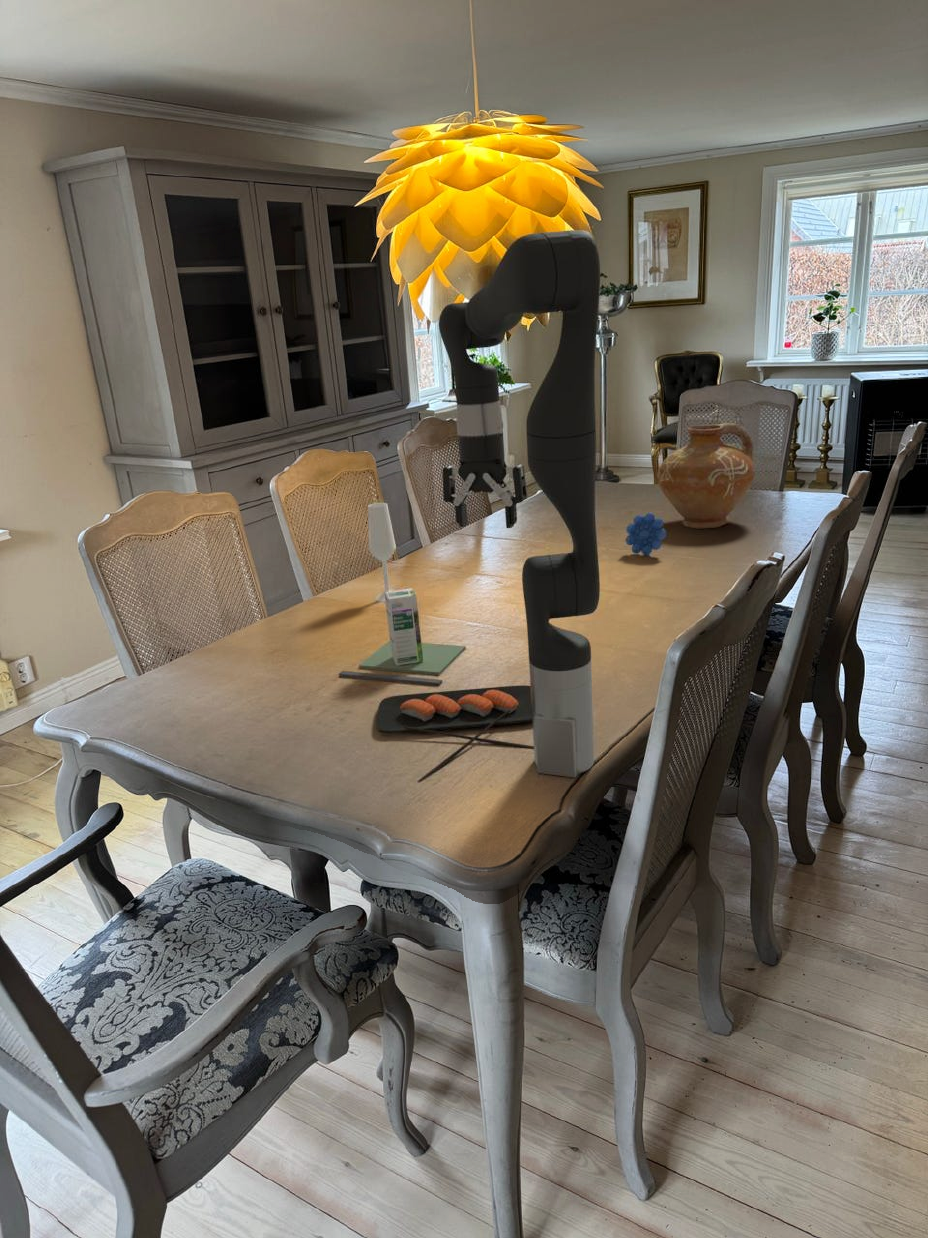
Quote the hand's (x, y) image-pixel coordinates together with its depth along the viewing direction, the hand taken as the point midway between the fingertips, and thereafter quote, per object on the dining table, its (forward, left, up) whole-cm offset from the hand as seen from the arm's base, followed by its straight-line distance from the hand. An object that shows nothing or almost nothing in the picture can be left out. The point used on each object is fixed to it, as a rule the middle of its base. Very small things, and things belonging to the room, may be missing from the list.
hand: (486, 526), depth 147 cm
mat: (+14, +24, -32) cm, 42 cm away
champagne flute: (+50, +48, -32) cm, 76 cm away
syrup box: (+12, +24, -32) cm, 42 cm away
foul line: (+3, +24, -32) cm, 40 cm away
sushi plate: (-15, +2, -33) cm, 36 cm away
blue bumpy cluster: (+96, -9, -32) cm, 102 cm away
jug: (+131, -20, -32) cm, 136 cm away
